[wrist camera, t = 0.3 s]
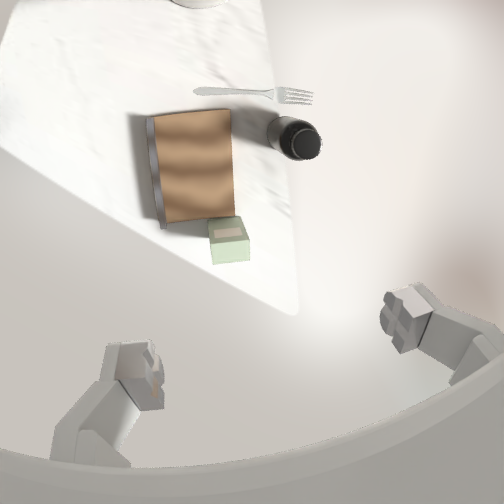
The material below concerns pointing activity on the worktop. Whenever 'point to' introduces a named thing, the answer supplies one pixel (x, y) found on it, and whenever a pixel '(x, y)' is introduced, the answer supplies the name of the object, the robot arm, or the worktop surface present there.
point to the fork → (256, 93)
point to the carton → (228, 240)
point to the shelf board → (191, 165)
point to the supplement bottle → (294, 138)
